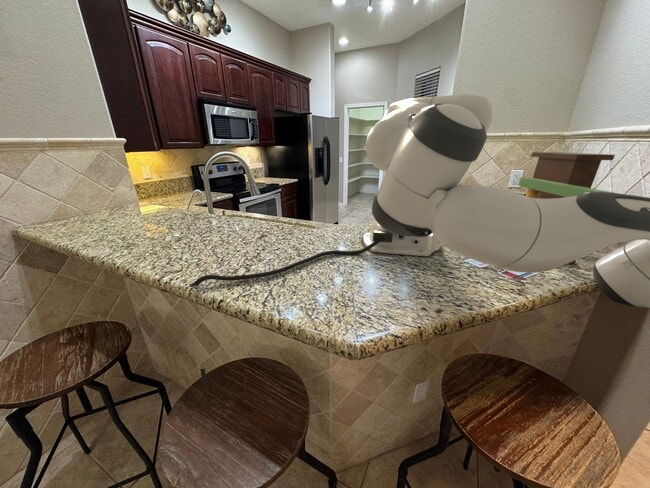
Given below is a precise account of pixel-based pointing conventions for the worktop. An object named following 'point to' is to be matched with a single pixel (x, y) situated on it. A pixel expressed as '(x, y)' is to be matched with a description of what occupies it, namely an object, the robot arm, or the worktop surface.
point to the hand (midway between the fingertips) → (596, 194)
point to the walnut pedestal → (567, 168)
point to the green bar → (555, 187)
